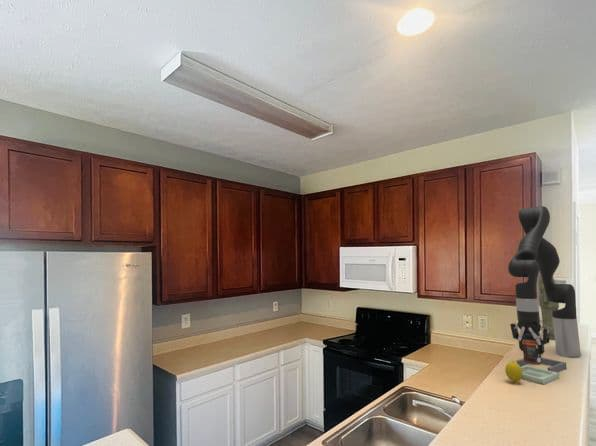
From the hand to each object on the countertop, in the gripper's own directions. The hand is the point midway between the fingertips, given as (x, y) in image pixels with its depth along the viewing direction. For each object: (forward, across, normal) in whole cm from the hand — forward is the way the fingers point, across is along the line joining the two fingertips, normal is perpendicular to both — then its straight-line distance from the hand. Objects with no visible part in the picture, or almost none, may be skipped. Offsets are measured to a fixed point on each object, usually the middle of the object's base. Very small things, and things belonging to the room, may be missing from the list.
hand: (531, 352), depth 136 cm
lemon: (+10, +1, +12) cm, 16 cm away
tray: (+10, 0, 0) cm, 10 cm away
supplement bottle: (+4, 0, 0) cm, 4 cm away
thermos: (+10, +25, -71) cm, 76 cm away
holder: (+9, +4, -14) cm, 17 cm away
